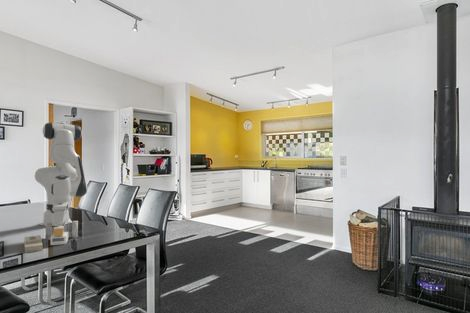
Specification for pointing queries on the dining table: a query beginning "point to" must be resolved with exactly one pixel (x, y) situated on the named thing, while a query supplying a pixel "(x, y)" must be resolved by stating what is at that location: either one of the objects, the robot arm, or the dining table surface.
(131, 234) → the dining table surface
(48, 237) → the post
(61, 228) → the breaker toggle
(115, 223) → the dining table surface
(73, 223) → the post
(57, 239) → the breaker block
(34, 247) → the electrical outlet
